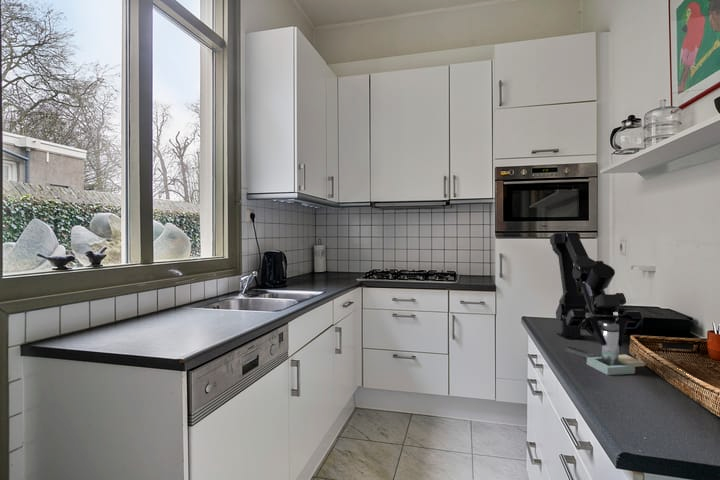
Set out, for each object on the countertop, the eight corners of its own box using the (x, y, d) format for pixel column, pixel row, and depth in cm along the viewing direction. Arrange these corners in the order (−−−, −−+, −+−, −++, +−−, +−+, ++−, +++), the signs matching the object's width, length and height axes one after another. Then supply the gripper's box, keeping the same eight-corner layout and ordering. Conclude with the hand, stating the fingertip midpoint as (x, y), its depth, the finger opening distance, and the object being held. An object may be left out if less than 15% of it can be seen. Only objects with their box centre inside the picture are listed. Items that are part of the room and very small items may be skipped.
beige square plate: (603, 358, 113) (603, 355, 113) (625, 357, 114) (625, 354, 114) (621, 367, 106) (621, 363, 106) (644, 366, 107) (644, 362, 107)
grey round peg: (597, 366, 107) (598, 321, 107) (611, 365, 108) (611, 321, 107) (608, 371, 103) (609, 325, 103) (622, 371, 104) (622, 324, 103)
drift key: (565, 351, 121) (565, 347, 121) (569, 350, 122) (569, 346, 121) (590, 358, 114) (590, 355, 113) (593, 357, 114) (594, 354, 114)
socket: (586, 364, 109) (586, 357, 109) (612, 362, 110) (612, 356, 110) (607, 375, 101) (607, 367, 101) (634, 373, 102) (634, 366, 102)
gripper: (569, 282, 110) (583, 329, 100) (640, 283, 107) (663, 332, 96) (560, 303, 118) (572, 349, 108) (626, 304, 115) (646, 352, 104)
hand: (612, 345), depth 104 cm, fingers closed on grey round peg, 4 cm apart
